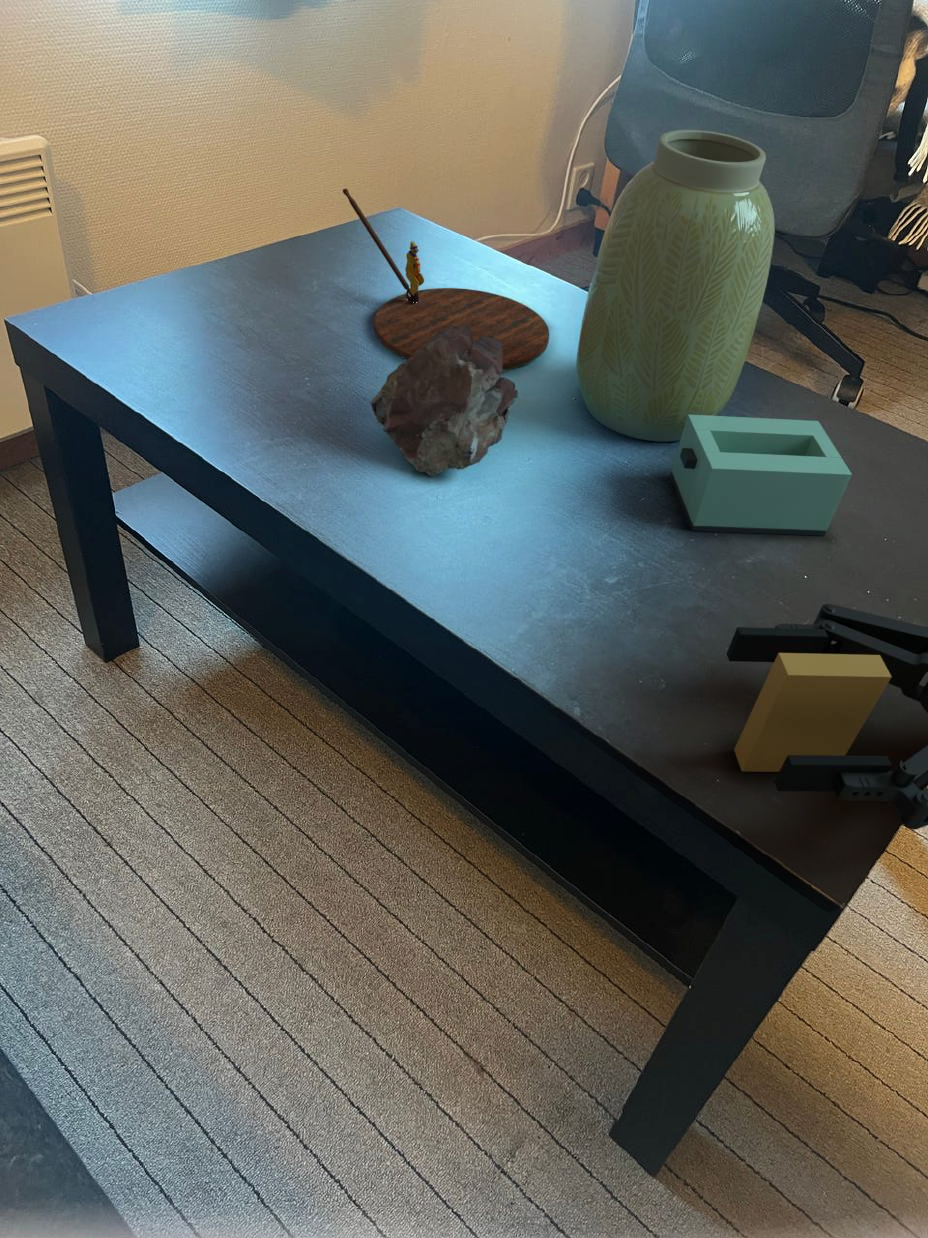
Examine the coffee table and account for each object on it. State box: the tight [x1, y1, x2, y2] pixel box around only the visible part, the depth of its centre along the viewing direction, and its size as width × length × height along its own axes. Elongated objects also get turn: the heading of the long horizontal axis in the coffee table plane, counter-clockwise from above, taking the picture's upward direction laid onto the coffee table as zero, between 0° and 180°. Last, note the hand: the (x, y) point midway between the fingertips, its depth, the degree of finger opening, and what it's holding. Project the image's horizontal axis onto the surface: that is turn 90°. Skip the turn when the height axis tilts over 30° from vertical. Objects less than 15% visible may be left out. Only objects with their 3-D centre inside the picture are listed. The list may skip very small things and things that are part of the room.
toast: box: [733, 653, 891, 773], centre depth 63 cm, size 7×2×10 cm, turn 93°
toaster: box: [669, 414, 853, 537], centre depth 88 cm, size 14×9×7 cm, turn 93°
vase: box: [575, 129, 776, 443], centre depth 93 cm, size 17×17×27 cm
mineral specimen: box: [369, 325, 519, 477], centre depth 90 cm, size 12×13×15 cm
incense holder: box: [342, 188, 550, 371], centre depth 110 cm, size 21×30×11 cm
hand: (756, 704), depth 62 cm, fingers open, 11 cm apart
